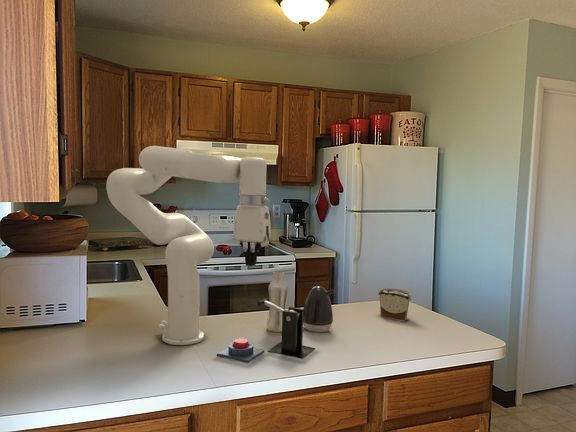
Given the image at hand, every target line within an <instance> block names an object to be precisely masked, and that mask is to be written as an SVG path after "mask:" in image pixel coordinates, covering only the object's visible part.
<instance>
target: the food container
mask: <svg viewBox="0 0 576 432" xmlns="http://www.w3.org/2000/svg"><path fill="white" fill-rule="evenodd" d="M377 295H378V296H379V308H380V309H379V312H380V317H381V318H384V319H390V320H395V321H398V322H399V321H400V322H404V323H405V322H407V318H408V313H409V306H410V302H411V301H412V294H411V292H409V291H407V290H405V289H399V288H381V289H379V290H378V294H377Z"/></svg>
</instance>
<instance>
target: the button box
mask: <svg viewBox="0 0 576 432" xmlns="http://www.w3.org/2000/svg"><path fill="white" fill-rule="evenodd" d="M264 353H265V349H263V348H258V347H255V346H254V343H252V342H251V341H248V347H247V348H235V347H234V341H232V342H230V343H228V347H225V348H224V349H222V350H220V351H218V352H217V353H216V356H217V357H218V358H219V357H220V358H224V359H229V360H233V361H237V362H241V363H246V364H249V363H250V362H252V361H253V360H255V359H257V358H258V357H260V356H261V355H262V354H264Z"/></svg>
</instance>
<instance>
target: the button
mask: <svg viewBox="0 0 576 432" xmlns="http://www.w3.org/2000/svg"><path fill="white" fill-rule="evenodd" d="M233 342H234V347H235V348H247V347H248V342H249V339H248V338H245V337H238V338H235V339H233Z"/></svg>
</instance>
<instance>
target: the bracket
mask: <svg viewBox="0 0 576 432" xmlns="http://www.w3.org/2000/svg"><path fill="white" fill-rule="evenodd" d="M286 310H287V309H286ZM286 310H283V311H282V332H281V341H280V342H279V343H277V344H275V345H274V346H272V347H271V348H269V349H268V350H267V352H269V353H271V354H277V355H282V356H287V357H291V358H296V359H301V360H304V359H305V358H306V357H307V356H308V355H310V354H311V353H312V352H313V351H315V350H316V347H312V346H307V345H303V336H304V324H303V313H304V308H301V307H300V308H299V307H293V306H289V307H288V310H287V311H286ZM290 310H294V311H296V312H292V311H290ZM298 313H300V315H299V318H298Z"/></svg>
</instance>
